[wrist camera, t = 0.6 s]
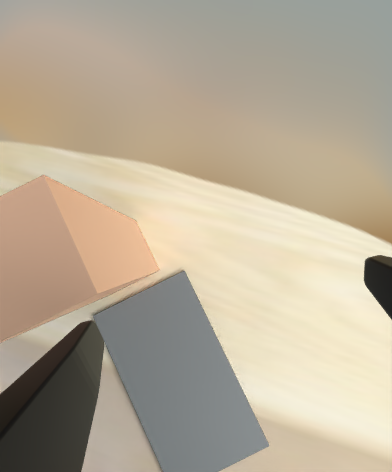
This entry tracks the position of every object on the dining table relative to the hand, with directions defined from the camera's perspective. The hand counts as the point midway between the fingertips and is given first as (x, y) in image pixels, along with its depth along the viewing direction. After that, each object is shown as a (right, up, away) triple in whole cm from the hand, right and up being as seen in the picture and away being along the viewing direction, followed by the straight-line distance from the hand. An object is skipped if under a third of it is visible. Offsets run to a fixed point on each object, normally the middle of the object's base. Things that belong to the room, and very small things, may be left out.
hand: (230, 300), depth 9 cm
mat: (-3, -10, +14) cm, 18 cm away
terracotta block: (-8, 0, +15) cm, 17 cm away
